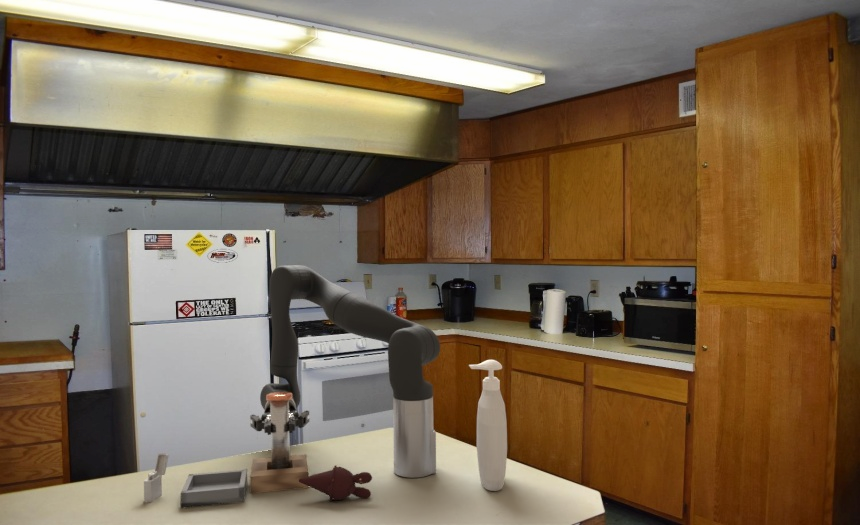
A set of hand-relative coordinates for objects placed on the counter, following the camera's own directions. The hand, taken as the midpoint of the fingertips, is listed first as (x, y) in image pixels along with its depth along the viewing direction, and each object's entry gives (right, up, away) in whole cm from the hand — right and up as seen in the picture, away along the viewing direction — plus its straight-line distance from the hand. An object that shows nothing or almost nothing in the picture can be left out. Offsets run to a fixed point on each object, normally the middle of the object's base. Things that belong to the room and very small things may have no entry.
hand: (280, 429), depth 132 cm
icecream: (+13, -12, -8) cm, 20 cm away
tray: (-12, -12, -5) cm, 18 cm away
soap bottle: (+45, -12, 0) cm, 47 cm away
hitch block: (-1, -12, +3) cm, 13 cm away
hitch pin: (0, -10, +3) cm, 10 cm away
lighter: (-25, -13, -5) cm, 28 cm away
